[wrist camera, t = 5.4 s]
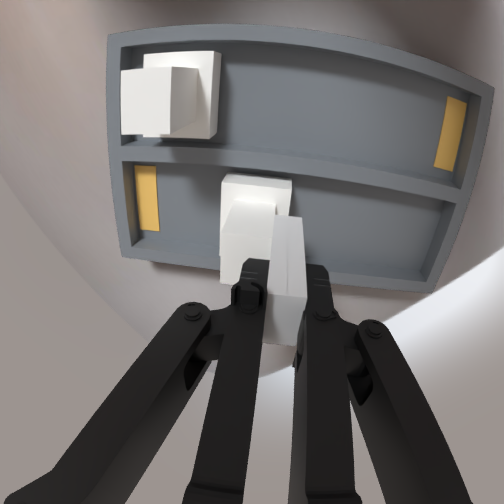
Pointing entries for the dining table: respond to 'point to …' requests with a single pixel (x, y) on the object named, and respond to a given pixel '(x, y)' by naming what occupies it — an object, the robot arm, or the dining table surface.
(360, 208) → the grey divided tray
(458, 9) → the dining table surface
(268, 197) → the tab
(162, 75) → the tab
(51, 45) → the dining table surface
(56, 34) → the dining table surface
